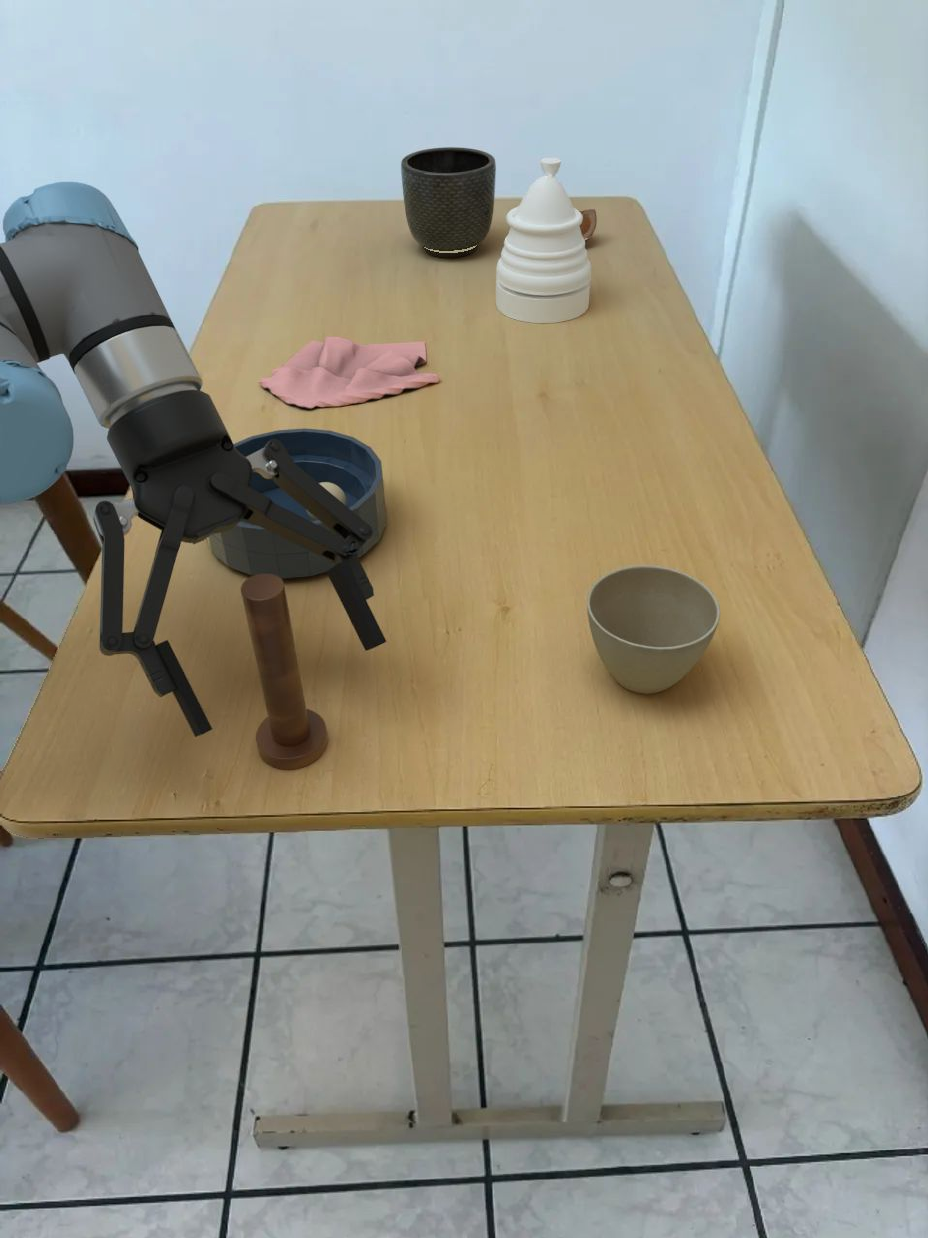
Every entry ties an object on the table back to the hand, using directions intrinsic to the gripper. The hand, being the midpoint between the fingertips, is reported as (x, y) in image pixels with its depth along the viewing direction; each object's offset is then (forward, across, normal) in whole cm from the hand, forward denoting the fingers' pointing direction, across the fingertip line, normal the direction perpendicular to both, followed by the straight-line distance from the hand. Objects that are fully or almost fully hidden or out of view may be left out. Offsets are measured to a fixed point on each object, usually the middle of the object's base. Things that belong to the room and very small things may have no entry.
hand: (294, 688), depth 66 cm
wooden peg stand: (+4, 0, -6) cm, 7 cm away
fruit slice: (-42, -85, -52) cm, 108 cm away
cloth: (-30, -36, -41) cm, 62 cm away
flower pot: (+12, -26, +1) cm, 28 cm away
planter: (-49, -70, -59) cm, 104 cm away
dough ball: (-14, -17, -20) cm, 30 cm away
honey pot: (-31, -67, -42) cm, 85 cm away
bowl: (-13, -14, -23) cm, 30 cm away
